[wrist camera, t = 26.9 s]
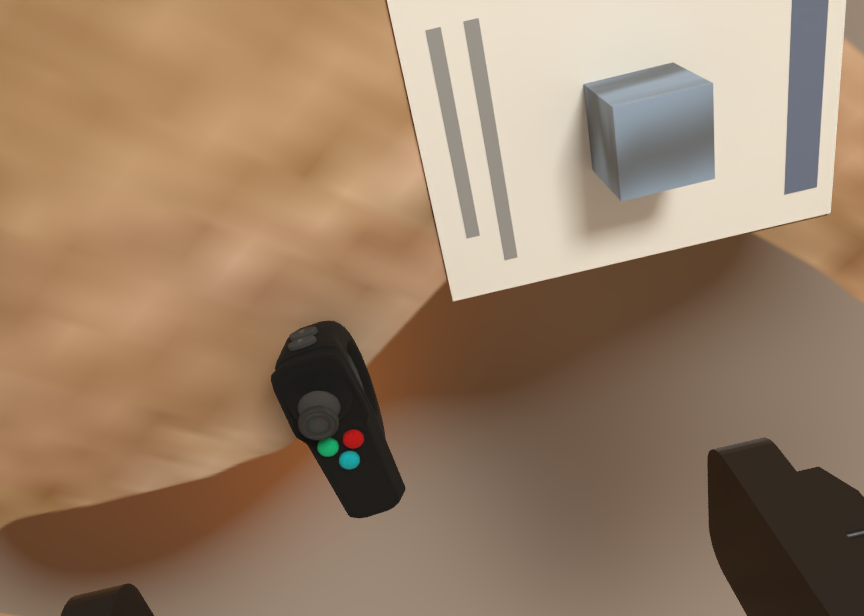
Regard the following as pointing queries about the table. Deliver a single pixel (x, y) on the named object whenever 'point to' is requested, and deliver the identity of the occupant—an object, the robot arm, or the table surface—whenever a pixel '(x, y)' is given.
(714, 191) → the letter
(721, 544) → the robot arm
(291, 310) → the table surface
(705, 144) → the cube
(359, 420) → the controller
